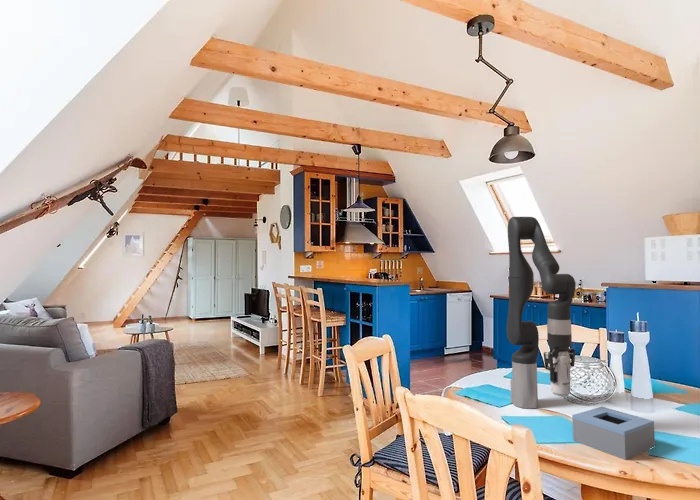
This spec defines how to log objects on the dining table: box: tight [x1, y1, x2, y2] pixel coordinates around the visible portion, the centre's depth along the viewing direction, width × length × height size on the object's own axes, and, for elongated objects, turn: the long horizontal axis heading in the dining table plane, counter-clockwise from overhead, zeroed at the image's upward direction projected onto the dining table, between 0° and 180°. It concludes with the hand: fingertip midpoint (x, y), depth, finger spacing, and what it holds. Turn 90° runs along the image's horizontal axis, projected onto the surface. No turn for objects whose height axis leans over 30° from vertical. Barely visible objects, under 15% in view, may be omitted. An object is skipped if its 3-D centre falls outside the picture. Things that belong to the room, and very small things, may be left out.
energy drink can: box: [550, 350, 571, 397], centre depth 149 cm, size 6×6×15 cm
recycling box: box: [571, 406, 656, 461], centre depth 135 cm, size 16×16×8 cm
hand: (560, 380), depth 149 cm, fingers closed on energy drink can, 6 cm apart
